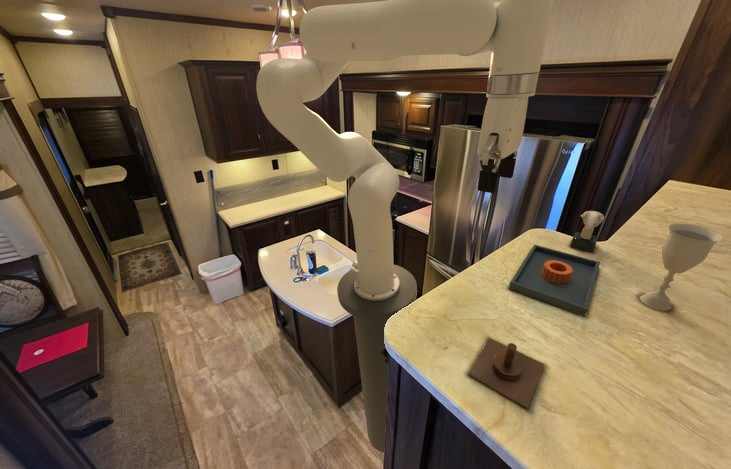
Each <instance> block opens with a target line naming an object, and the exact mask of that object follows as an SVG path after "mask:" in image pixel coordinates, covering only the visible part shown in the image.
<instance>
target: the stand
mask: <svg viewBox="0 0 731 469" xmlns="http://www.w3.org/2000/svg"><path fill="white" fill-rule="evenodd" d="M544 366H545V363H543V362H540V361H538V360H536V359H534V358H532V357H531V356H528V355H526V354H524V353H523V352H519V351H518V346H517V345H516V344H515V343H514V342H513V343H512V342H509V343H508V344H507V345H505V344H503V343H501V342H499V341H497V340H495V339H493V338H490V337H488V338H487V340H486V341H485V343H484V345H483V347H482V348H481V350H480V352H479V354H478V356H477V357H476V359H475V360H474V362H473V364H472V366H471V367H470V369H469V371H468V372H467V375H468V376H469V377H471V378H472V379H475V380H476V381H478V382H480V383H482V384H483V385H485V386H487V387H488V388H490V389H492V390H493V391H496V392H497V393H499V394H500V395H502V396H504V397H506V398H507V399H509V400H511V401H512V402H513V403H516V404H518V405H519V406H521V407H522V408H525V409H526V410H529V408H530V405H531V402H532V400H533V397H534V394H535V392H536V391H535V390H536V389H537V385H538V383H539V380H540V378H541V375H542V372H543V369H544Z"/></svg>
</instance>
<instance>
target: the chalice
mask: <svg viewBox="0 0 731 469" xmlns="http://www.w3.org/2000/svg"><path fill="white" fill-rule="evenodd" d="M668 229H669V233H668V234H667V236H666V238H665V240H664V243H663V244H662V246H661V258H662V264H663V267H664V269H665V270H667V271H668V272H667V273H666V274H665V275H664V276H663V277H662V278H663V281H661V282H659V283H658V285H659V289H655V290H654V289H653V290H649V291H647V292H645V293H643V294H642V295H641V296H640V297H639V300H640V301H641V302H642V303H643V304H644V305H646V306H647V307H650V309H651V308H652V309H654V310H658V311H665V312H666V311H670V310H671V309H672V306H671V299H670V297H669V295H668V294H666V290H668V289H671V285H670V283H672V282H674V280H675V279H674V276H675V275H676V274H683V273H685V272H687V271H689V270H692V269H694V268H695V267H697V266H698V265H699V264H701V263H702V262H704V261H705V260H706V259H707V257H708V256H709V254H710V252H711V251H712V249H713V247H714V245H715V244H717V243H718V242H721V241H722V240H723V236H722V235H721V234H719V233H718V232H716V231H714V230H711V229H709V228H707V227H701V226H699V225H695V224H690V223H671V224H669V226H668Z"/></svg>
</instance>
